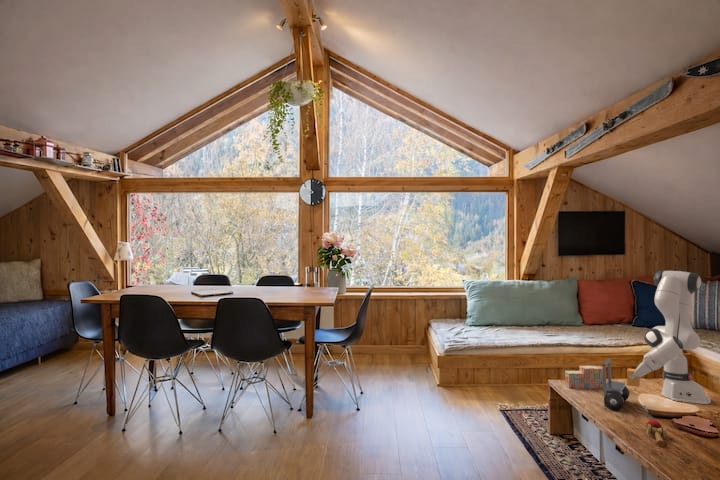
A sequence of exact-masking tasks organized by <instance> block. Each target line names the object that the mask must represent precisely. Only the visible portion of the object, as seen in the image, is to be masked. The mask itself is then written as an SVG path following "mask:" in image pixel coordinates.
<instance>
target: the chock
mask: <svg viewBox="0 0 720 480" xmlns="http://www.w3.org/2000/svg"><path fill="white" fill-rule="evenodd" d="M635 370H636V368H629V367H628V368H627V370H626V378H627V379H626V383H627V384H626V385H627V387H635V388H639V387H640V385H641V383H640V382H641V381H640V378H639V377H638V376H637V377H635V378H634V379H631V378H630V376H631V375H632V374H633V373H634V371H635Z"/></svg>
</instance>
